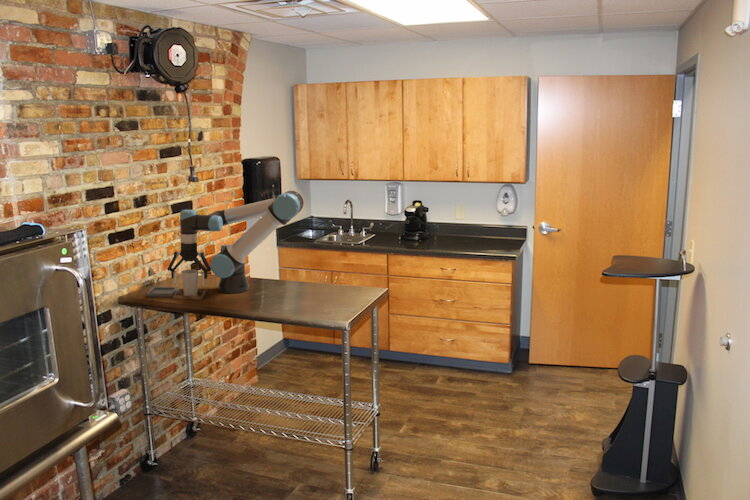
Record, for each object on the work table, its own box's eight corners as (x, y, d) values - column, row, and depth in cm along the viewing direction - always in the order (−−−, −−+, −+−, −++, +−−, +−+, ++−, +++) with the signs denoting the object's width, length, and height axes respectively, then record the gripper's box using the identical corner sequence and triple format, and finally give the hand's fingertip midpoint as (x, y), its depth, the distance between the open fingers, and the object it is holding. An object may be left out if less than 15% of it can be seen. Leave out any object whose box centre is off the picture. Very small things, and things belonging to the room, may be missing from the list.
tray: (178, 290, 306) (177, 287, 306) (172, 297, 294) (172, 293, 294) (153, 290, 305) (153, 286, 305) (146, 297, 293) (146, 293, 293)
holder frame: (207, 291, 306) (207, 288, 305) (202, 299, 292) (202, 296, 292) (179, 291, 304) (179, 288, 304) (173, 299, 291) (172, 296, 291)
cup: (194, 298, 294) (193, 273, 291) (179, 296, 295) (178, 272, 293) (202, 293, 301) (201, 270, 299) (187, 292, 303) (186, 269, 301)
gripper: (216, 241, 298) (217, 283, 302) (164, 239, 296) (165, 282, 300) (213, 244, 291) (214, 287, 295) (160, 242, 288) (161, 286, 293)
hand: (189, 285), depth 297 cm, fingers open, 13 cm apart
